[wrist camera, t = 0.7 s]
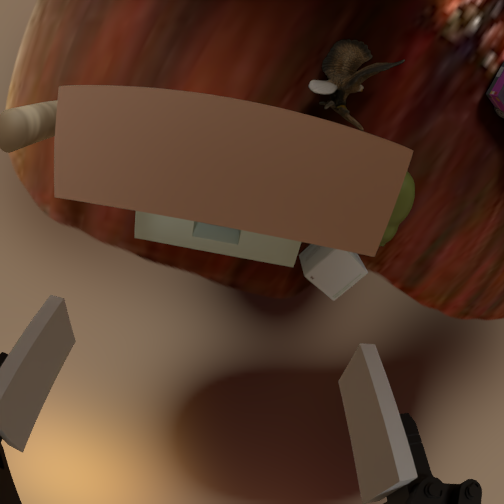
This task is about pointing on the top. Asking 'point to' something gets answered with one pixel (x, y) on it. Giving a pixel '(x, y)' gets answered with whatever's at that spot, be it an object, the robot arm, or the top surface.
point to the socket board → (216, 239)
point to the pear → (400, 208)
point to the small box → (331, 269)
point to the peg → (27, 125)
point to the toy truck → (497, 92)
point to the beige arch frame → (227, 164)
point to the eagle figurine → (346, 75)
